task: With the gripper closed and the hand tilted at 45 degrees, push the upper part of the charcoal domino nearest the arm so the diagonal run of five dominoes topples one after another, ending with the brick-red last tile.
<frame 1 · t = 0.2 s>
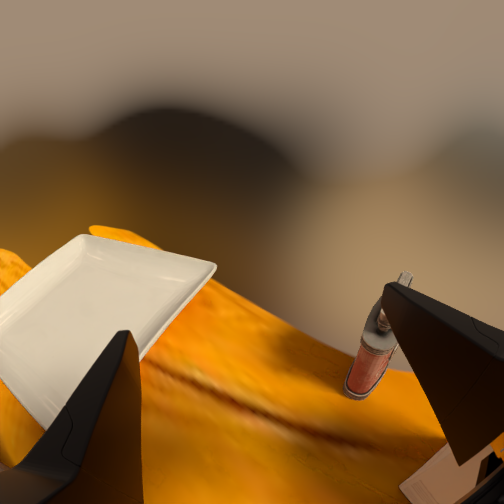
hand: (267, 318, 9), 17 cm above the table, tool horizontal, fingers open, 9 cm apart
lighter: (368, 370, 26), on the table
supplement box: (448, 487, 13), on the table
square plate: (81, 324, 32), on the table
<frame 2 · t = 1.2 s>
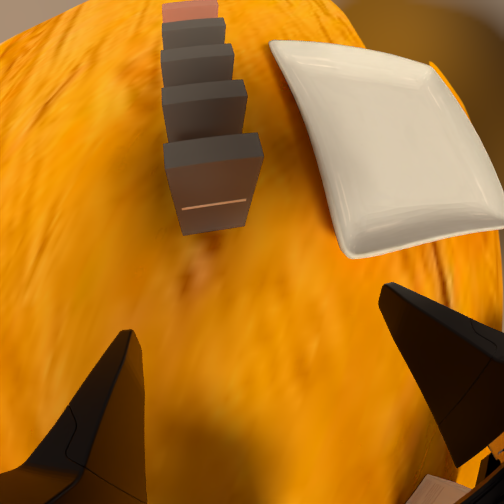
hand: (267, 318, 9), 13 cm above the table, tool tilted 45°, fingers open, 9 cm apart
domino 4: (194, 102, 27), on the table
domino 3: (198, 135, 26), on the table
domino 5: (191, 77, 28), on the table
supplement box: (423, 503, 18), on the table
square plate: (396, 139, 30), on the table
domino 1: (212, 221, 24), on the table
domino 2: (205, 174, 25), on the table
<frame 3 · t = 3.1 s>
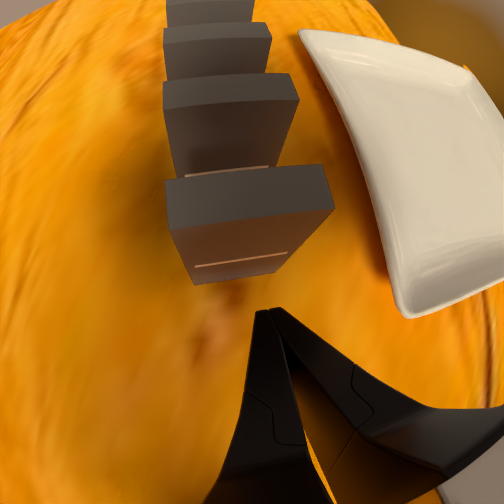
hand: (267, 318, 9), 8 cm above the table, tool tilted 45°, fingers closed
domino 4: (207, 102, 21), on the table
domino 3: (213, 145, 20), on the table
square plate: (442, 156, 24), on the table
domino 1: (232, 266, 18), on the table
domino 2: (222, 199, 19), on the table
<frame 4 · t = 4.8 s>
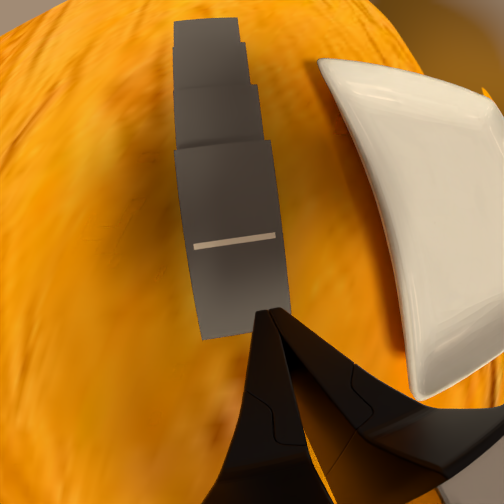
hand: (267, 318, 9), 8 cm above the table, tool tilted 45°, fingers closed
domino 4: (213, 131, 20), point 1 cm above the table, tilted 68°, touching domino 3, domino 5
domino 3: (220, 181, 19), point 1 cm above the table, tilted 67°, touching domino 2, domino 4
square plate: (464, 205, 23), on the table
domino 1: (245, 327, 16), point 1 cm above the table, tilted 69°, touching domino 2
domino 2: (231, 252, 17), point 1 cm above the table, tilted 68°, touching domino 1, domino 3
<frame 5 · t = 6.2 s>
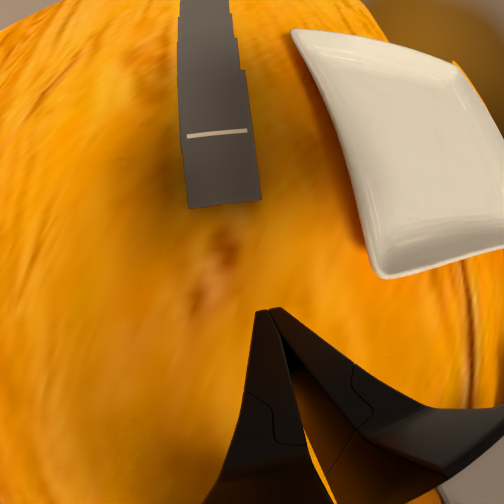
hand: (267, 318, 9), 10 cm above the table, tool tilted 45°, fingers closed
domino 4: (206, 76, 24), point 1 cm above the table, tilted 67°, touching domino 3, domino 5
domino 3: (209, 106, 23), point 1 cm above the table, tilted 67°, touching domino 2, domino 4
square plate: (423, 143, 27), on the table
domino 1: (224, 204, 21), point 1 cm above the table, tilted 69°, touching domino 2
domino 2: (214, 149, 22), point 1 cm above the table, tilted 68°, touching domino 1, domino 3
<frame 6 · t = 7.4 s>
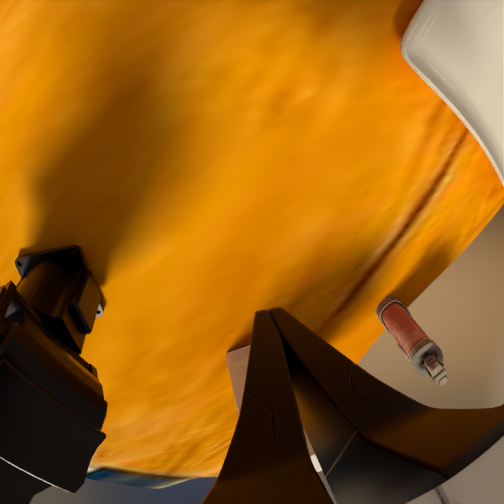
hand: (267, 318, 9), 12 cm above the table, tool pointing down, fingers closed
lighter: (393, 315, 31), on the table
supplement box: (268, 359, 30), on the table
square plate: (495, 56, 17), on the table
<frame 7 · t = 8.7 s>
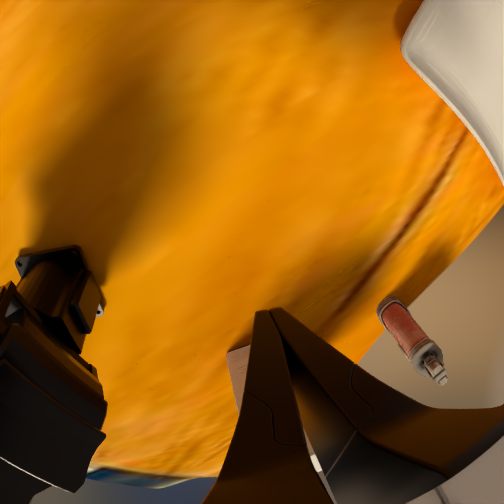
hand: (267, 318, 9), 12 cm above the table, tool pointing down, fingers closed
lighter: (393, 314, 31), on the table
supplement box: (268, 359, 30), on the table
square plate: (495, 55, 17), on the table
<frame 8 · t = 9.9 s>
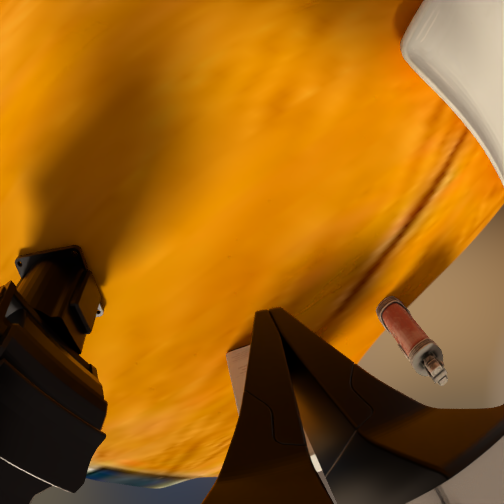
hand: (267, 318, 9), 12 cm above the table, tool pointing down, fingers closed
lighter: (393, 315, 31), on the table
supplement box: (268, 359, 30), on the table
square plate: (495, 55, 17), on the table
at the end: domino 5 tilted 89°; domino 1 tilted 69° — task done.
